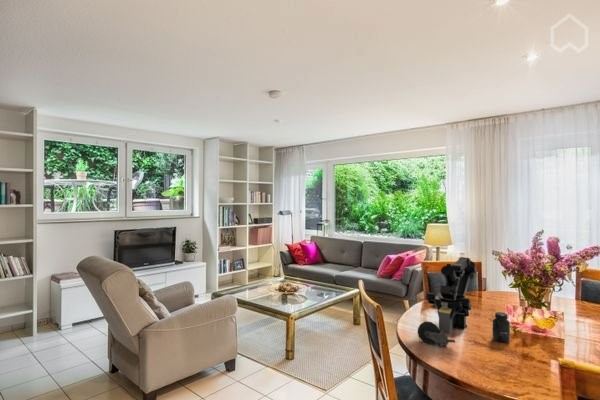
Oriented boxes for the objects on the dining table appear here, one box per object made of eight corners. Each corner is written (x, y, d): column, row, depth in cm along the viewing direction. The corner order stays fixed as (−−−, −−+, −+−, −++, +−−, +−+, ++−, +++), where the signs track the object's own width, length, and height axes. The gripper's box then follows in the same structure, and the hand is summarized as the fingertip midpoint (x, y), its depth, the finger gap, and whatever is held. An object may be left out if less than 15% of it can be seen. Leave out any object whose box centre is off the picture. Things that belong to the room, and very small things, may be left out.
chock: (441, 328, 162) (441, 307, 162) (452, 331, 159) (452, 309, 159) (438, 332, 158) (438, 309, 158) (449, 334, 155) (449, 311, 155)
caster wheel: (417, 345, 156) (454, 349, 148) (415, 323, 156) (451, 325, 149) (420, 340, 161) (456, 344, 153) (418, 319, 161) (453, 321, 153)
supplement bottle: (503, 344, 153) (503, 317, 153) (489, 339, 159) (488, 312, 159) (513, 341, 156) (513, 314, 156) (498, 336, 162) (498, 310, 162)
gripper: (426, 275, 167) (419, 304, 158) (469, 280, 156) (463, 312, 147) (432, 288, 173) (425, 317, 165) (473, 294, 162) (468, 325, 153)
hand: (444, 317), depth 157 cm, fingers closed on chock, 4 cm apart
